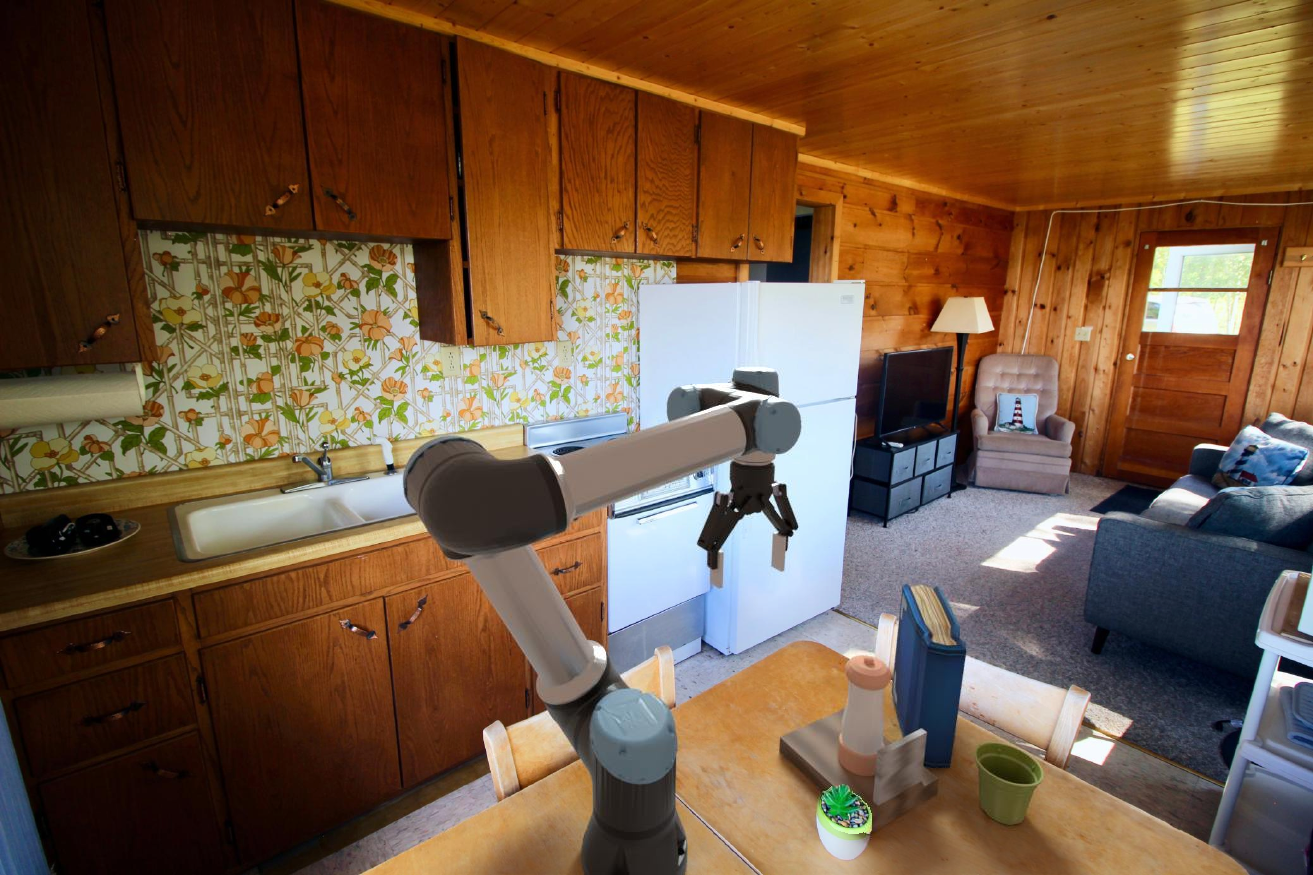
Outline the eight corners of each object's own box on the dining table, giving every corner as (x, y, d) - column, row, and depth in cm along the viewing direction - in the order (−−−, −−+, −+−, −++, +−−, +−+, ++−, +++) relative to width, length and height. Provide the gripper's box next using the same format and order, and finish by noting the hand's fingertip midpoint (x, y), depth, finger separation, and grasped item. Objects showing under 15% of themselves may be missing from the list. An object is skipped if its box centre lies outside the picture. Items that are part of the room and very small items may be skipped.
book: (956, 779, 103) (973, 644, 97) (911, 772, 104) (925, 639, 99) (927, 698, 123) (940, 583, 118) (890, 694, 125) (901, 580, 119)
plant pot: (970, 778, 103) (976, 733, 101) (1036, 801, 98) (1043, 754, 96) (965, 818, 95) (971, 770, 93) (1036, 845, 90) (1044, 795, 88)
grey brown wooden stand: (867, 835, 92) (874, 766, 89) (779, 751, 109) (782, 691, 106) (937, 794, 99) (945, 729, 97) (844, 721, 116) (848, 665, 114)
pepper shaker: (838, 771, 100) (846, 666, 96) (836, 741, 107) (844, 642, 103) (885, 780, 98) (896, 673, 94) (880, 748, 105) (890, 648, 101)
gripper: (793, 447, 113) (787, 555, 117) (677, 463, 101) (676, 583, 105) (823, 455, 106) (815, 569, 111) (703, 475, 94) (700, 602, 99)
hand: (747, 576), depth 108 cm, fingers open, 13 cm apart
